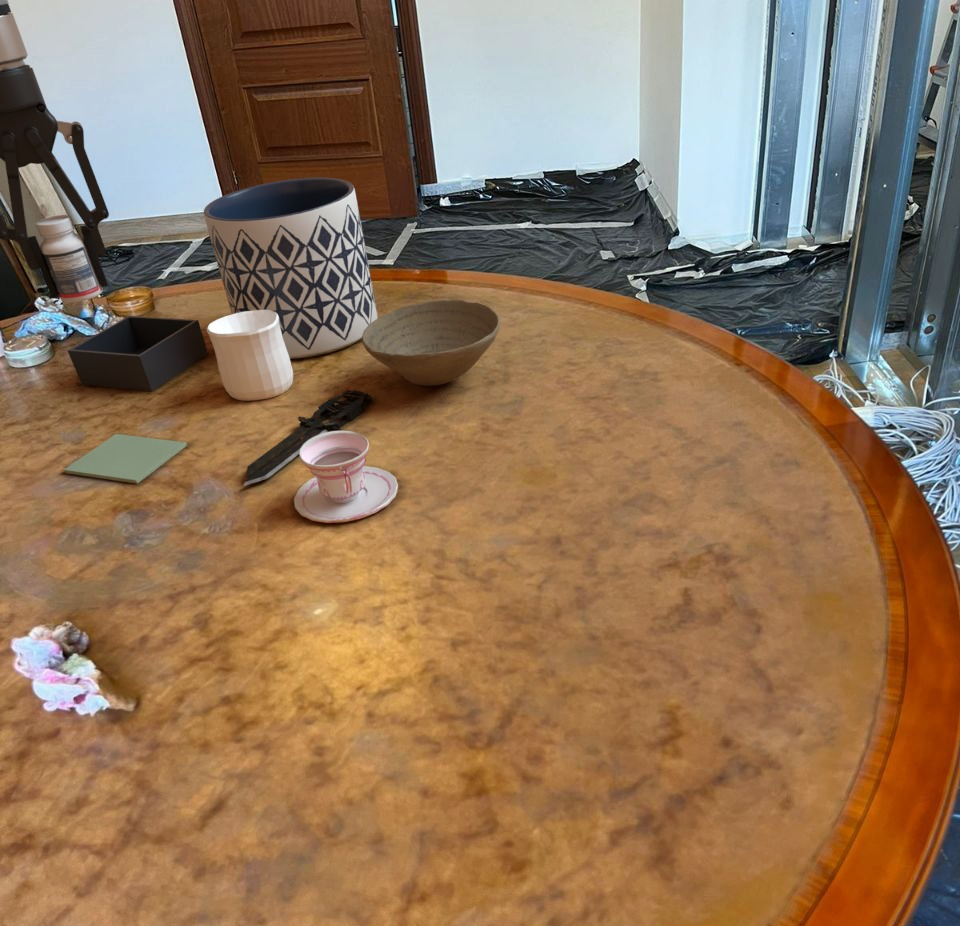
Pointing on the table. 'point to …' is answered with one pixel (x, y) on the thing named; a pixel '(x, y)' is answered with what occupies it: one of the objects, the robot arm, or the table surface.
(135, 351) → the box
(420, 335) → the bowl
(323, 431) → the knife
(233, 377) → the cup
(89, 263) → the pill bottle
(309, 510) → the teacup
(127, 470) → the mat
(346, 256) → the planter
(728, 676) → the table surface
